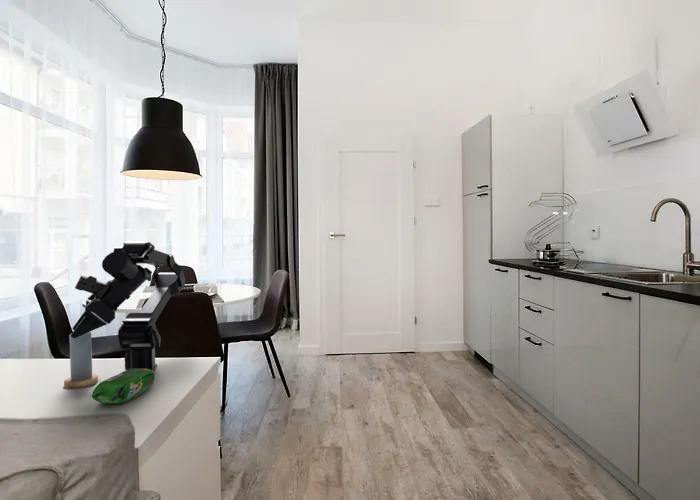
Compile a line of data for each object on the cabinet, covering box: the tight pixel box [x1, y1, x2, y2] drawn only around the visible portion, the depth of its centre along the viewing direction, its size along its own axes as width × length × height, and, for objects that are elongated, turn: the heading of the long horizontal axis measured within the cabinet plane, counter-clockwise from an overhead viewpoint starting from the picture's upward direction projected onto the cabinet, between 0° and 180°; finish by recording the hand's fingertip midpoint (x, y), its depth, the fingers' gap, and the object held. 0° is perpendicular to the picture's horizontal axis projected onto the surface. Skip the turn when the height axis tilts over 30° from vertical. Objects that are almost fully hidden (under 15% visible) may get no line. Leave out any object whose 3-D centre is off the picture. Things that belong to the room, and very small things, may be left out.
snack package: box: [91, 368, 155, 405], centre depth 95 cm, size 7×16×5 cm, turn 172°
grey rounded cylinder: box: [68, 331, 93, 382], centre depth 104 cm, size 4×4×11 cm
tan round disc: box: [63, 373, 99, 390], centre depth 104 cm, size 7×7×1 cm
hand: (73, 333), depth 103 cm, fingers open, 9 cm apart
